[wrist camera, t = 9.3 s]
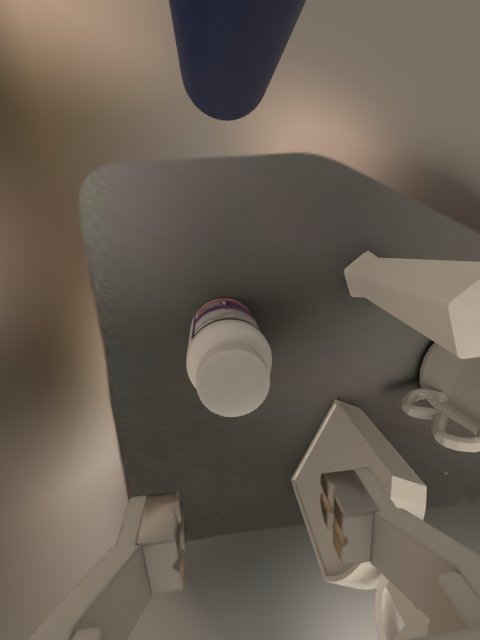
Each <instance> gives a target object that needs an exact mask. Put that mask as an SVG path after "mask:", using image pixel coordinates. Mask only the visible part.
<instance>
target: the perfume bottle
mask: <svg viewBox="0 0 480 640" xmlns="http://www.w3.org/2000/svg"><path fill="white" fill-rule="evenodd" d="M344 275H345V278H346V282H347V285H348V289H349V292H350V295H351V297H365V298H366V299H368V300H369V301H371V302H373V303H374V304H376V305H377V306H379V307H380V308H382V309H383V310H385V311H387V312H388V313H390V314H391V315H393V316H394V317H396V318H398V319H399V320H401V321H402V322H404V323H405V324H407V325H409V326H410V327H412V328H413V329H415V330H416V331H418V332H420V333H421V334H423V335H424V336H426V337H427V338H429V339H431V340H432V341H434V342H435V343H437V344H438V345H440V346H442V347H443V348H445V349H446V350H448V351H449V352H451V353H452V354H454V355H456V356H457V357H459V358H460V359H467V358H476V357H480V262H471V261H446V260H422V259H397V258H378V257H377V256H376V255H374V254H373V253H371V252H370V251H366V252H365V253H363V254H362V255H361V256H360V257H358V258H357V259H356V260H355V261H353V262H352V263H351V264H350V265H349V266H347V267H346V268H345V269H344Z"/></svg>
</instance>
